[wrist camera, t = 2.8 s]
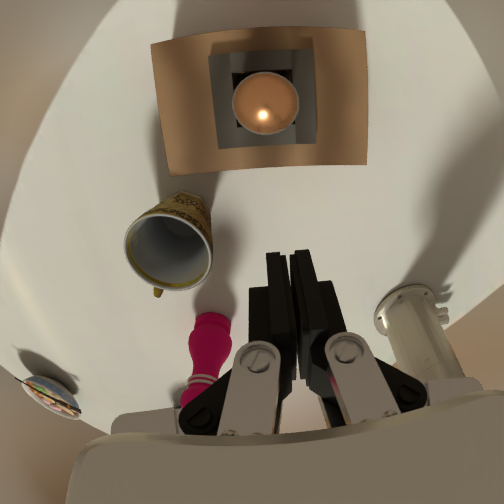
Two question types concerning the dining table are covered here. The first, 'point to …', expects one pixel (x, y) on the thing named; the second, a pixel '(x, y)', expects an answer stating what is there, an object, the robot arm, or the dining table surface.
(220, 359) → the pepper mill
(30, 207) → the dining table surface
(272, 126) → the peg
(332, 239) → the dining table surface
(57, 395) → the ramen bowl
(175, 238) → the ceramic cup
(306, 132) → the socket block
